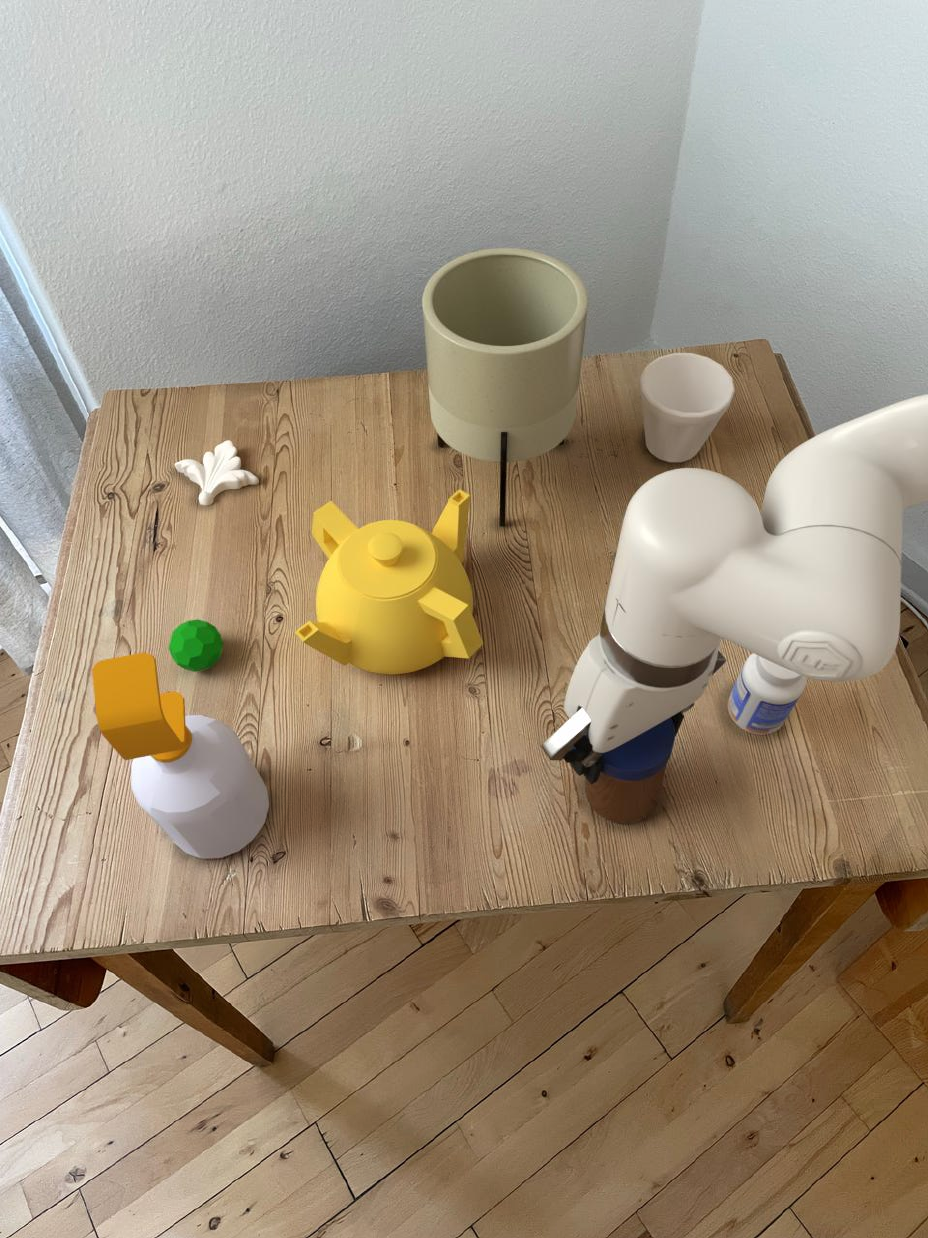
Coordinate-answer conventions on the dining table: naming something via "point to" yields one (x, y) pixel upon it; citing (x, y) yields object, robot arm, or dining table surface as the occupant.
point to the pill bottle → (764, 695)
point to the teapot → (393, 592)
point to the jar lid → (641, 754)
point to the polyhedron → (195, 645)
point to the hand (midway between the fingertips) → (622, 745)
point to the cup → (682, 403)
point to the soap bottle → (179, 760)
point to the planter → (504, 354)
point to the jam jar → (624, 797)
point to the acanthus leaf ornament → (217, 472)
